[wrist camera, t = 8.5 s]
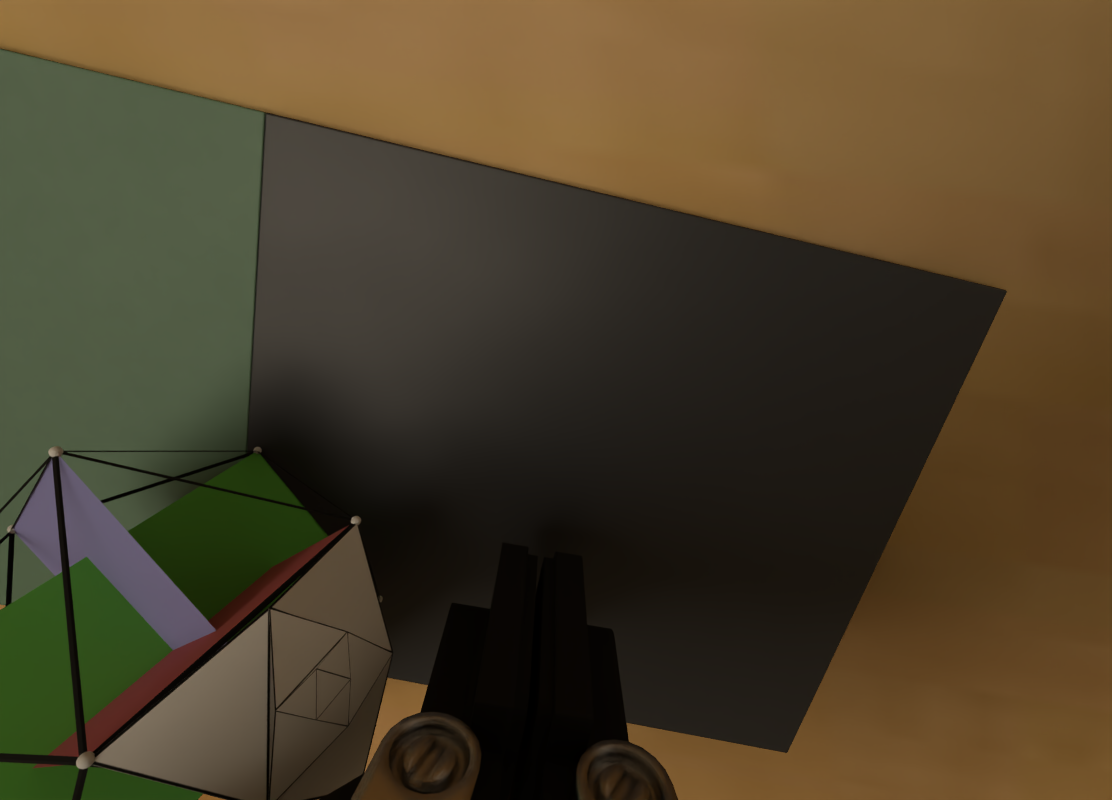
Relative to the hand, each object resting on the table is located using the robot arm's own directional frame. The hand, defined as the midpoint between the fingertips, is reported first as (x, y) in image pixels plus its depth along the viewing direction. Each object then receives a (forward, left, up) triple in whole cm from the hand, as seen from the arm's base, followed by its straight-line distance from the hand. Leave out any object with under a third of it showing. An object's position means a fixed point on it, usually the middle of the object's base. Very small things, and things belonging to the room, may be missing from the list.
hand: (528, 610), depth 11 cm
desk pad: (-2, -5, -2) cm, 6 cm away
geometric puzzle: (+1, -5, -2) cm, 6 cm away
